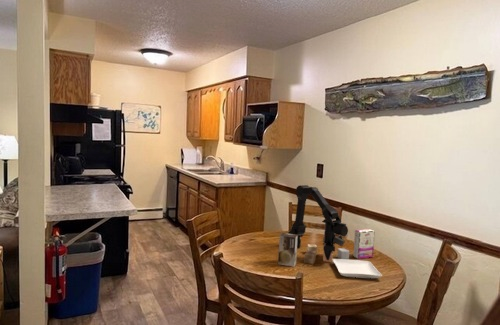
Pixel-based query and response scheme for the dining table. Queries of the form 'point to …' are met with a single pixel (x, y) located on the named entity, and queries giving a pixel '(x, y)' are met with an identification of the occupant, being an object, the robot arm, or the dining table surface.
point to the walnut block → (309, 257)
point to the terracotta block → (329, 258)
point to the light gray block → (343, 253)
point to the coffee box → (287, 249)
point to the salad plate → (356, 268)
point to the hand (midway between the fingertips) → (327, 258)
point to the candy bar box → (363, 243)
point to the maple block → (312, 248)
